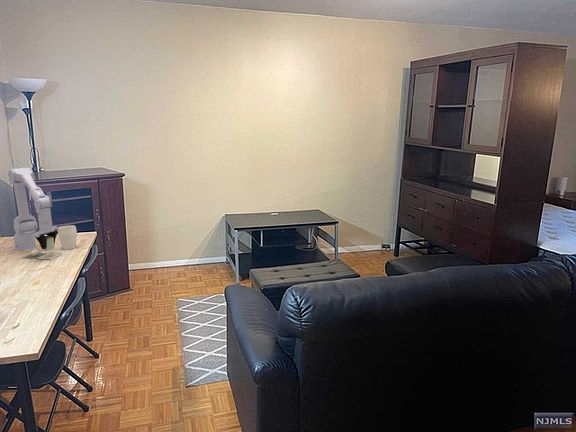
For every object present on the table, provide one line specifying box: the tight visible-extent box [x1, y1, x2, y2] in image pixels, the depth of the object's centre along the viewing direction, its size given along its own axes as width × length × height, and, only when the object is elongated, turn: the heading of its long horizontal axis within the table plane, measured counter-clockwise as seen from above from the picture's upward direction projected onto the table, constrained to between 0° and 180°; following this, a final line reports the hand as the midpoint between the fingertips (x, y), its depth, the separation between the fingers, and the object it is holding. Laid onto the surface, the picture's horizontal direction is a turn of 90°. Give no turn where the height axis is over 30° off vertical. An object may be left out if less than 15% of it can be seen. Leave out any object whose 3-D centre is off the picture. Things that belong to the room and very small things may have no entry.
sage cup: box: [41, 236, 55, 252], centre depth 214 cm, size 5×5×6 cm
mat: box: [22, 252, 63, 261], centre depth 216 cm, size 16×9×1 cm, turn 83°
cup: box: [57, 224, 78, 250], centre depth 230 cm, size 9×9×12 cm
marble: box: [30, 249, 39, 256], centre depth 216 cm, size 3×3×3 cm
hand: (48, 247), depth 214 cm, fingers closed on sage cup, 5 cm apart
